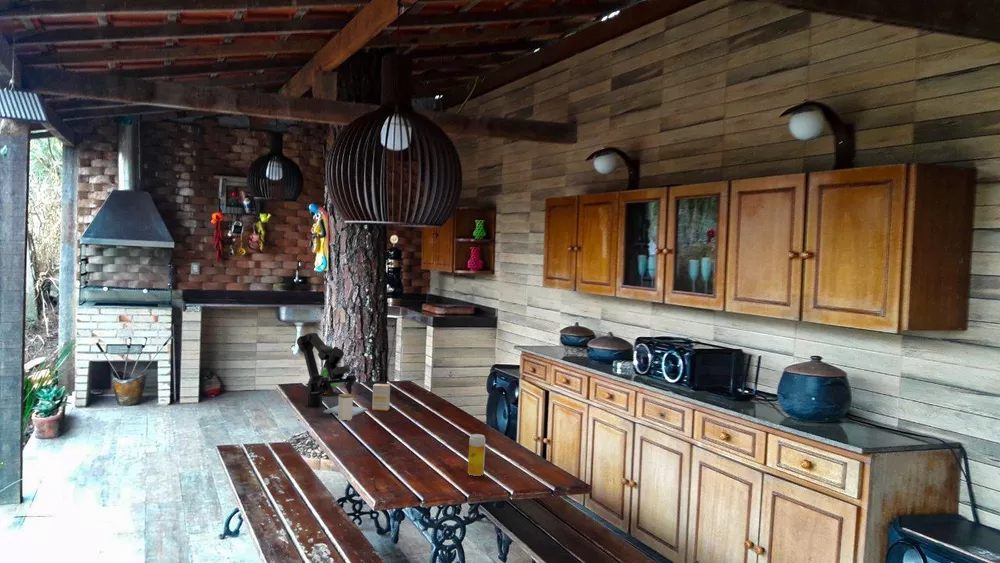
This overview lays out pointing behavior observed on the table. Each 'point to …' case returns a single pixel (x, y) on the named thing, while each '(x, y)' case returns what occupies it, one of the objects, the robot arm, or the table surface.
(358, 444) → the table surface
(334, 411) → the slate mat
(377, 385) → the supplement box
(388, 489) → the table surface
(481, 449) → the beer glass
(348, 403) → the tan block
